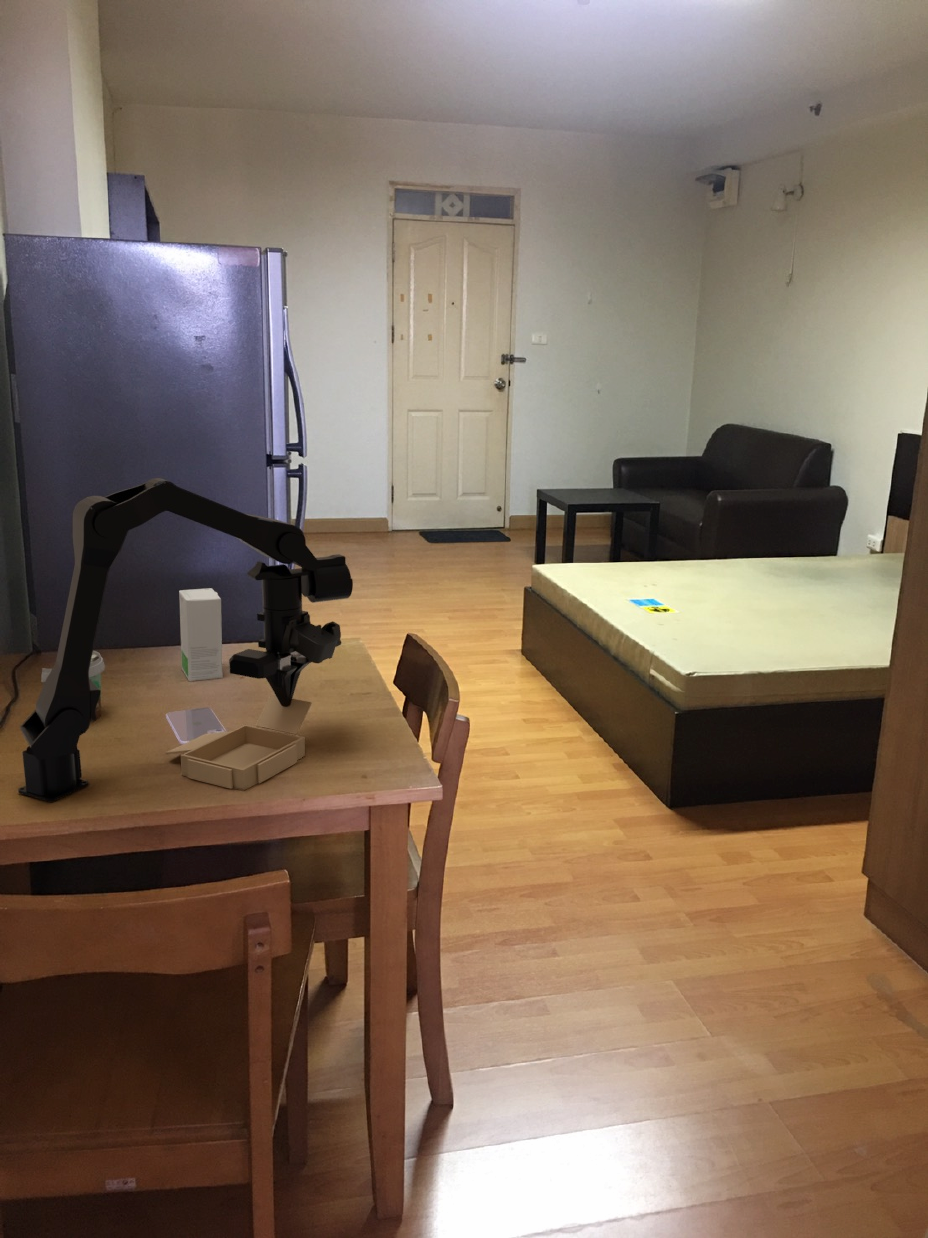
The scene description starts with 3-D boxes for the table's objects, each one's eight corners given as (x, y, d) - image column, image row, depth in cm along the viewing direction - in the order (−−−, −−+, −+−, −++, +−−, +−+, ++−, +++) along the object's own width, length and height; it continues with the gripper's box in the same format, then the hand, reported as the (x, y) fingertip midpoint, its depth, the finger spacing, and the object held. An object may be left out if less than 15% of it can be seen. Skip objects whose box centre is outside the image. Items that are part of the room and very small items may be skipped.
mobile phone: (210, 705, 163) (230, 734, 150) (210, 710, 163) (231, 740, 150) (164, 711, 160) (180, 741, 147) (164, 716, 160) (180, 747, 147)
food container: (81, 733, 151) (75, 672, 149) (45, 730, 152) (40, 669, 150) (123, 708, 163) (119, 650, 160) (90, 705, 164) (85, 648, 162)
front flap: (296, 734, 144) (311, 702, 146) (255, 725, 147) (270, 694, 150) (296, 735, 144) (311, 703, 147) (256, 726, 147) (271, 695, 150)
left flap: (192, 749, 138) (165, 752, 141) (193, 751, 138) (165, 754, 141) (232, 730, 145) (205, 733, 148) (232, 732, 145) (206, 735, 148)
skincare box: (181, 669, 184) (176, 589, 180) (216, 666, 187) (212, 587, 183) (189, 682, 177) (184, 599, 173) (225, 678, 180) (221, 596, 176)
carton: (244, 793, 131) (243, 772, 130) (178, 776, 136) (177, 756, 135) (307, 757, 143) (307, 738, 143) (245, 743, 148) (245, 724, 148)
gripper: (288, 626, 132) (292, 734, 135) (362, 599, 148) (364, 697, 152) (224, 616, 136) (229, 721, 140) (302, 591, 153) (305, 686, 156)
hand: (285, 706), depth 147 cm, fingers closed
